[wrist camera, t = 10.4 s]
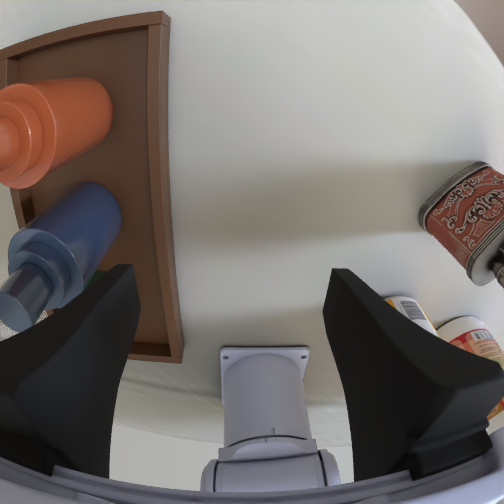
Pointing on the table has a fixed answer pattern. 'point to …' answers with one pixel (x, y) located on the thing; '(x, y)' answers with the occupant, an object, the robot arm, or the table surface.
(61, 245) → the slate-blue bottle
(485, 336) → the fruit juice
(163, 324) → the tray
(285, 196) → the table surface
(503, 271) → the lighter
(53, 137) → the terracotta bottle
